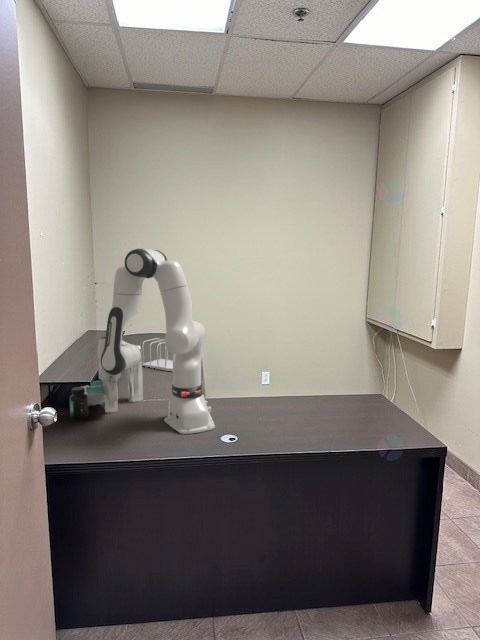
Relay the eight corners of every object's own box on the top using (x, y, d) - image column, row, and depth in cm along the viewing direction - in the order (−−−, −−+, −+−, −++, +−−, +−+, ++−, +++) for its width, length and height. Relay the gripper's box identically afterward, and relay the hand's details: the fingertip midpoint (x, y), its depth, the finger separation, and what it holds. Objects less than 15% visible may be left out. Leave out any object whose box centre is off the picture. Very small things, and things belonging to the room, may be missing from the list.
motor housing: (120, 401, 186) (119, 385, 185) (82, 406, 180) (81, 389, 179) (115, 392, 199) (115, 377, 198) (80, 397, 193) (79, 381, 192)
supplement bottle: (70, 421, 163) (69, 392, 162) (69, 415, 170) (68, 387, 168) (89, 418, 166) (87, 389, 165) (87, 413, 173) (86, 385, 171)
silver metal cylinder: (139, 402, 185) (137, 348, 182) (126, 401, 187) (124, 347, 183) (145, 398, 192) (144, 345, 188) (132, 397, 193) (130, 344, 190)
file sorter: (192, 366, 251) (192, 341, 249) (174, 372, 236) (173, 345, 234) (160, 361, 263) (159, 337, 261) (141, 367, 248) (140, 341, 246)
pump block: (118, 411, 175) (117, 397, 174) (102, 413, 172) (102, 399, 172) (116, 407, 180) (115, 393, 179) (101, 409, 177) (100, 395, 176)
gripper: (121, 379, 166) (122, 412, 168) (114, 367, 184) (115, 397, 186) (104, 380, 163) (106, 414, 165) (99, 368, 182) (100, 398, 184)
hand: (110, 405), depth 176 cm, fingers closed on pump block, 5 cm apart
